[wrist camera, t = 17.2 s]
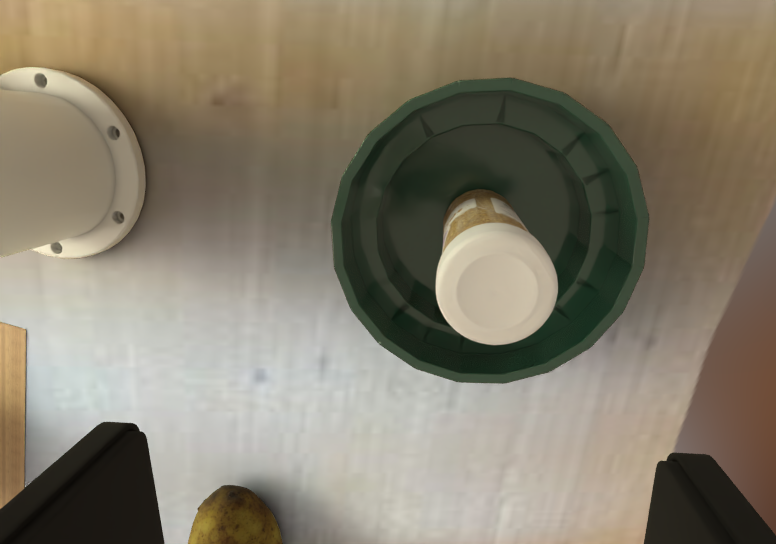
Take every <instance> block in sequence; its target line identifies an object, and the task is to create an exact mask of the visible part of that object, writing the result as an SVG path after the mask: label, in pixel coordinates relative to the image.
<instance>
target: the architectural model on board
mask: <svg viewBox="0 0 776 544" xmlns="http://www.w3.org/2000/svg"><path fill="white" fill-rule="evenodd" d="M25 366H26V329H22V328H19V327H15V326H11V325H8V324H4V323H1V322H0V509H1V508H2V507H3V506H4V505H6V504H7V503H8V502H9V501H10V500H11V499H13V498H14V497H15V496H16V495H17V494H18V493H20V492H21V491H22V490H23V489H24V458H25Z"/></svg>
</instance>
